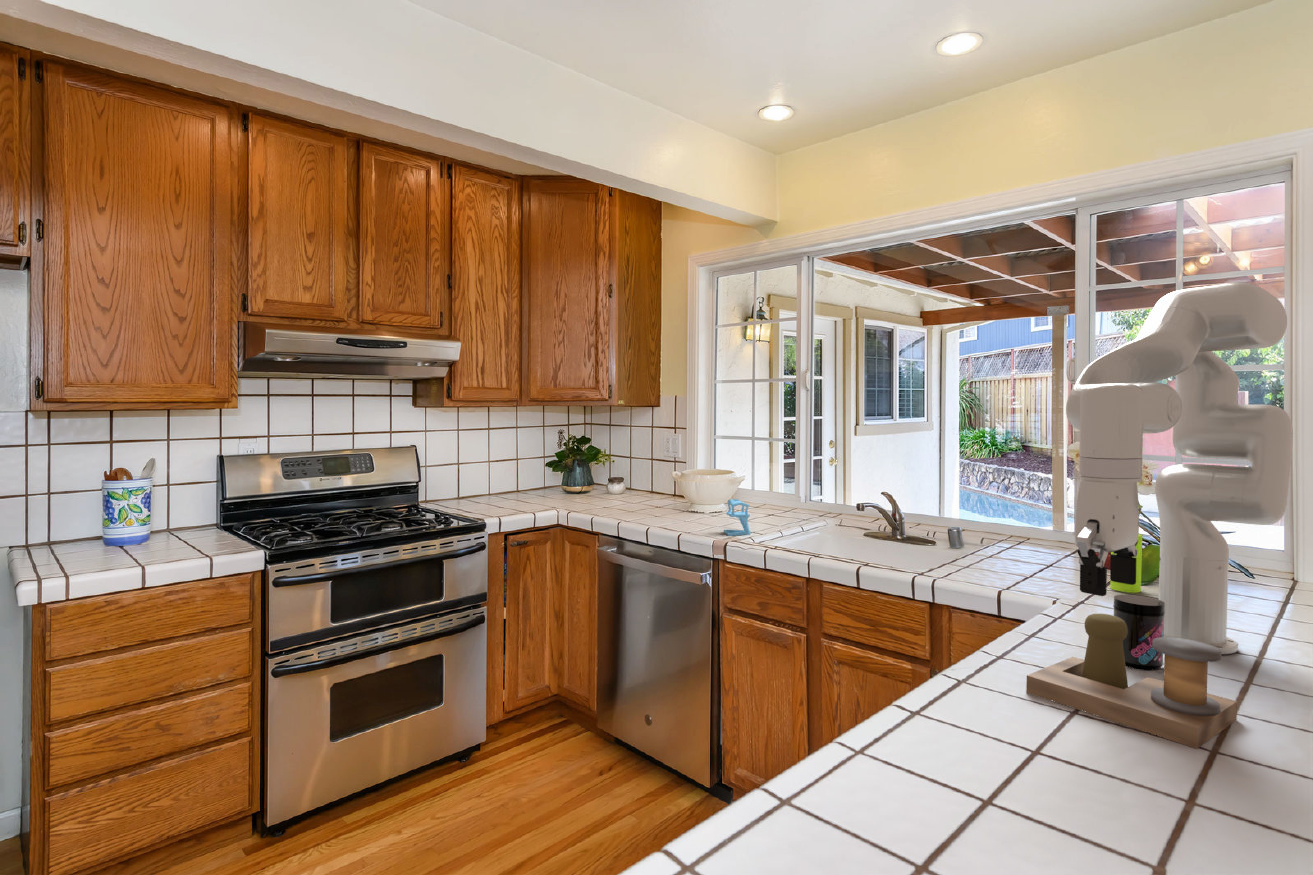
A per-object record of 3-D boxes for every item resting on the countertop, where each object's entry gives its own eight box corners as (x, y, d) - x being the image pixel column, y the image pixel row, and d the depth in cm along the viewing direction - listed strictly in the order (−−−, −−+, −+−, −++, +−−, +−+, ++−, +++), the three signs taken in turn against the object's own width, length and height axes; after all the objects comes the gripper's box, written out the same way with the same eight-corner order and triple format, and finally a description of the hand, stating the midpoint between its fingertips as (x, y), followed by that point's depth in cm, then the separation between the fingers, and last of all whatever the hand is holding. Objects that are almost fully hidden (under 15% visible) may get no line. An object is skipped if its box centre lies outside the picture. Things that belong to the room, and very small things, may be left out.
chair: (752, 535, 228) (753, 500, 228) (728, 536, 227) (729, 500, 227) (746, 532, 236) (747, 497, 236) (723, 532, 235) (723, 497, 235)
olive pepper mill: (1082, 679, 102) (1084, 607, 102) (1131, 690, 99) (1133, 615, 98) (1076, 691, 98) (1078, 616, 97) (1127, 703, 94) (1129, 624, 94)
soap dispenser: (1149, 591, 157) (1152, 505, 157) (1129, 593, 155) (1132, 506, 154) (1124, 585, 163) (1126, 502, 162) (1104, 587, 160) (1106, 503, 160)
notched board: (1072, 672, 105) (1074, 608, 105) (1236, 720, 89) (1238, 643, 88) (1026, 692, 97) (1027, 622, 97) (1197, 748, 81) (1199, 664, 81)
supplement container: (1120, 669, 107) (1122, 603, 107) (1105, 655, 113) (1107, 593, 113) (1170, 674, 105) (1173, 607, 105) (1152, 659, 112) (1154, 596, 111)
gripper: (1107, 465, 105) (1106, 574, 106) (1053, 472, 95) (1051, 592, 96) (1164, 468, 99) (1162, 584, 100) (1113, 476, 89) (1111, 604, 90)
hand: (1108, 588), depth 98 cm, fingers open, 9 cm apart
